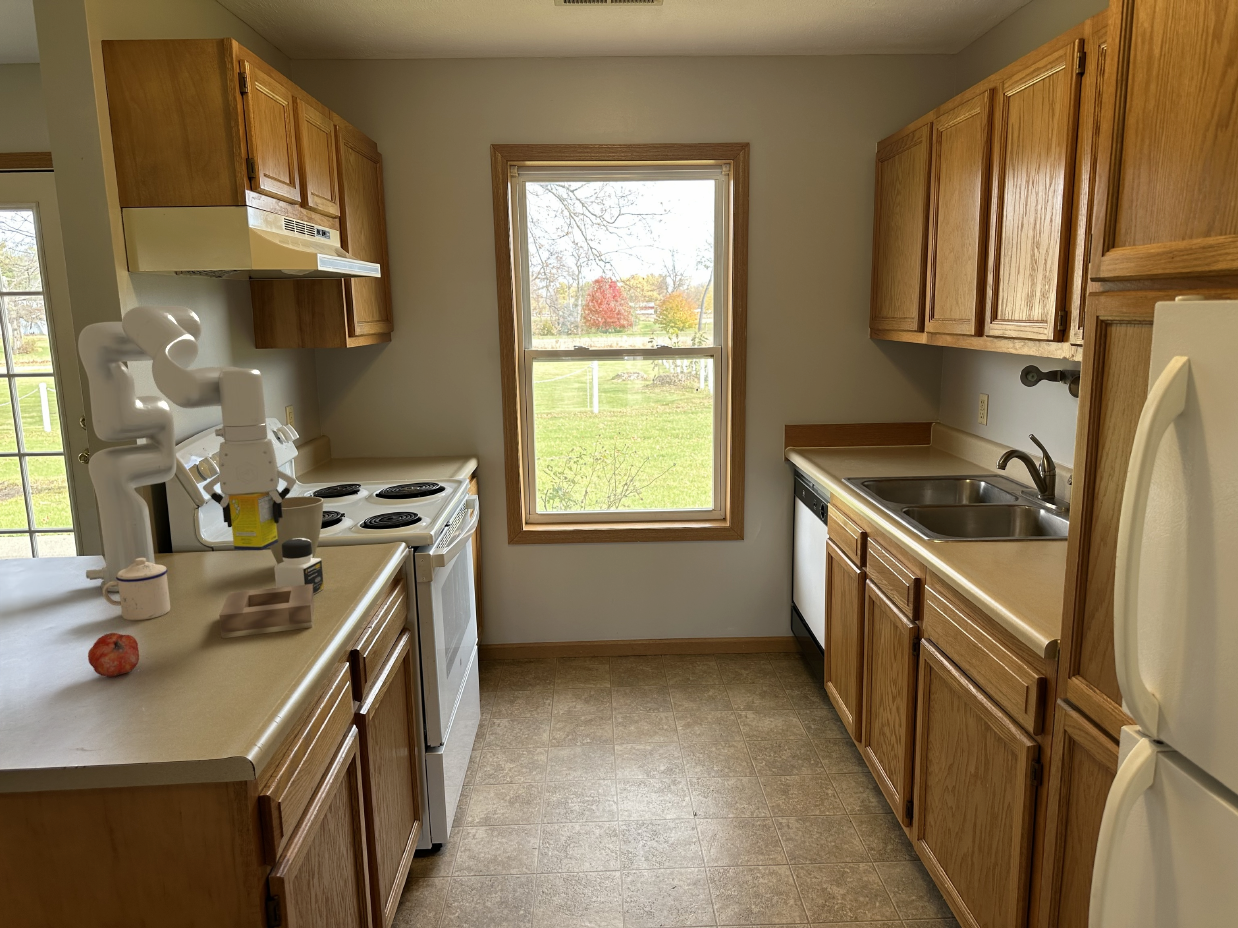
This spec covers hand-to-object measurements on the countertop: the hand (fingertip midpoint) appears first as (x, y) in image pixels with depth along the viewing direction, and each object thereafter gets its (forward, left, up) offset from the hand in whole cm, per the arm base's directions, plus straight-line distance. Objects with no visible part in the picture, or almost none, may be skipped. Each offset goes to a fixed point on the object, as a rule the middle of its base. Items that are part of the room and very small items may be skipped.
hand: (254, 523), depth 162 cm
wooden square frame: (+1, 0, -20) cm, 20 cm away
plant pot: (+4, +39, -20) cm, 44 cm away
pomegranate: (-22, -18, -20) cm, 35 cm away
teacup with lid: (-25, +14, -20) cm, 35 cm away
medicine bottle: (+6, +16, -20) cm, 27 cm away
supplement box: (0, 0, -5) cm, 5 cm away
